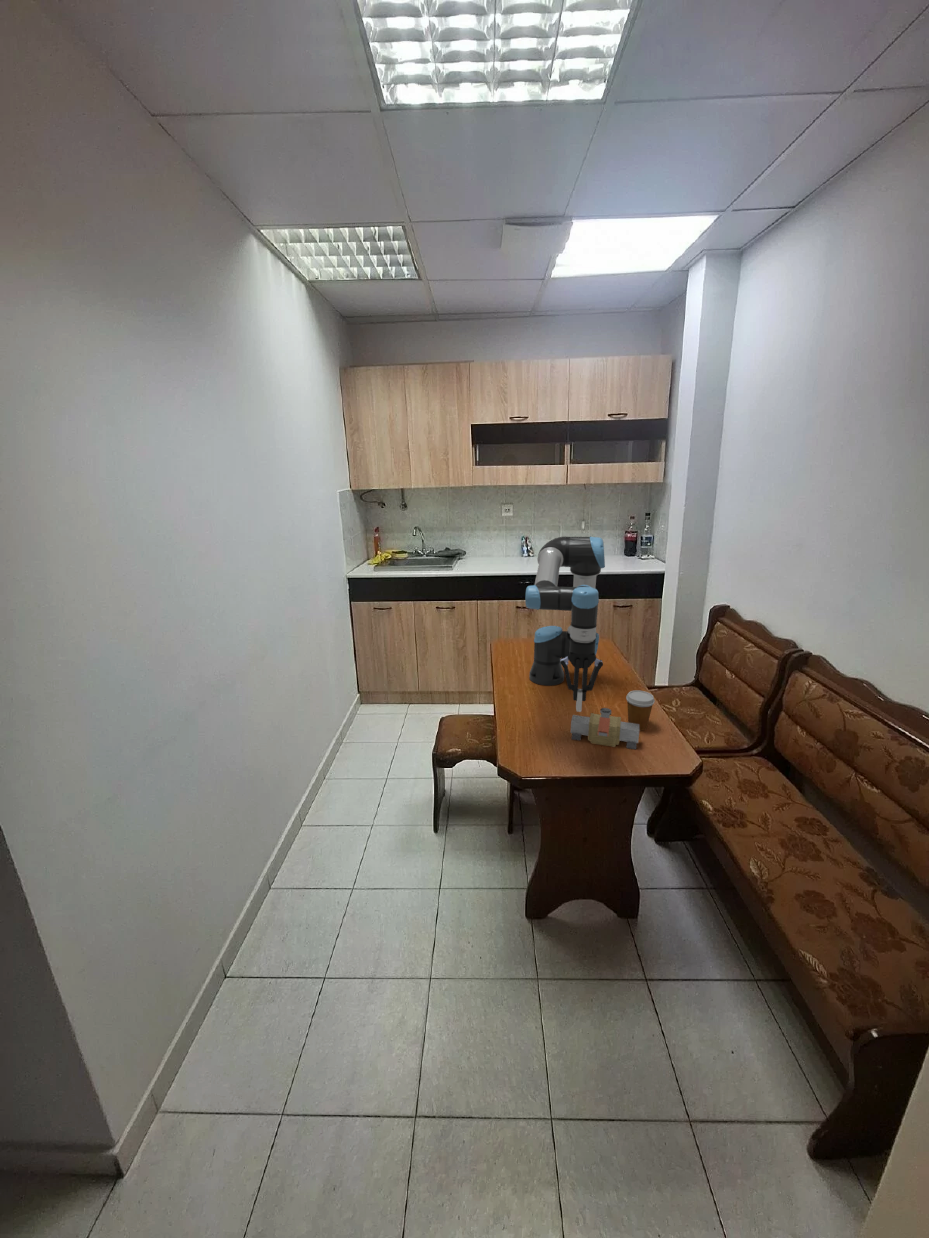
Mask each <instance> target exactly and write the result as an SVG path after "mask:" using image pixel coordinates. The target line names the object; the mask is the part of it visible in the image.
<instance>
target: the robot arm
mask: <svg viewBox="0 0 929 1238" xmlns="http://www.w3.org/2000/svg"><path fill="white" fill-rule="evenodd" d="M604 543H605V542H604V540H603V538H602V537H599V536H598V537H597V536H558V537H555V538H553V539H550V540H549V541H547V542H546V543H545V544H544V545H543V546H542V547H541V548H540V550H539V551H538V554H537V558H536V559H537V564H538V567H537V571H536V576H535V581H534V584H533V585H528V586H527V587H526V589H525V602H524V603H525V606H526V608H527V609H531V610H537V611H539V610H544V611H545V610H548V611H565V612H566V611H569V612H571V615H570V616H571V620H570V625H569V626H568V627H567V630H565V631H564V630H563V629H562V628H563V627H561V626H558V625H548V626H543V627H540V628H538V629H536V631H535V632H534V639H533V642H534V645H533V649H534V650H533V663H532V666H531V668H530V669H529V670H530V671H529V675H528V676H529V680H530V681H531V682H532V683H534V684H537V685H540V686H557V685H560V684H563V682H564V681H565V680H566V684H567V689H568V690H570V691H572V692H573V693H572V699H573V701H574V702H576V703H575V709H576V710H575V711H576V712H578V713H579V712H580V713H581V712H582V709H583V702H586V701H587V700H586V699H587V692H589V691H591V692H592V691H593V689H594V687H595V683H596V680H597V678H598V675H599V672H600V669H601V668H603V666H604V663H603V660H602V659H598V658H597V653H598V649H599V641H600V634H599V633H597V625H598V624H597V622H598V611H599V609H598V608H599V601H600V600H599V591H598V589H597V588H596V586H597V585H596V583H597V576H598V575H600V573H602V571H601V570H602V569H605V567H606V561H605V545H604ZM561 567H565V568H569V572H570V573H571V574H572V575H573V584H572V585H573V586H558V583H559V576H560V575H559V574H560V568H561ZM569 662H570V664H571V665H572V667H573V668H574V671H573V684H572V680H571V675H570V671H569V667H568V665H569ZM593 664H594V666H593V668H592V669H593V670H592V672H591V675H590V678H589V680H588V672H589V668H590V667H591V666H592V665H593ZM580 669H582V681H581V688H579V677H580V676H579V675H580Z"/></svg>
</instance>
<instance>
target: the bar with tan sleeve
mask: <svg viewBox="0 0 929 1238" xmlns="http://www.w3.org/2000/svg"><path fill="white" fill-rule="evenodd" d="M600 717H601V714H597V713H594V712H590V716H582V715H579V714H578V715H576V714H572V717H571V722H570V734H571V740H572V741H573V740H574V741H582V735H583V736H587V741H589V742H590V744H594V745H599V746H600V745H601V746H607V747H612V748H616V745H617V746H618V745H619V744H620V741H621V742H626V747H625V748H626V749H629V750H637V744H639V738H640V737H639V736H640V730H639V724H635V723H628V721H627V722H625V721H622V717H621V716H613V715H610V716H609V718H610V725H609V734H608V737H607V736H600V735H598V727H599V720H600ZM619 746H620V745H619Z"/></svg>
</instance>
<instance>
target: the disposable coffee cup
mask: <svg viewBox="0 0 929 1238" xmlns="http://www.w3.org/2000/svg"><path fill="white" fill-rule="evenodd" d="M625 698H626V702H627V720H628V721H627V722H628V723H635V724H639V731H645V730H647V728H648V724H649V721H650V718H651V717H650V716H651V713H652V708H653V705H654V704H655V702H656V701H655V698H654V695H653V694H652V693H650V692H648V691H644V690H639V689H638V690H631V691H629V692H628V693H627V695H626V697H625Z"/></svg>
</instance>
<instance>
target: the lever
mask: <svg viewBox="0 0 929 1238" xmlns="http://www.w3.org/2000/svg"><path fill="white" fill-rule="evenodd" d="M599 712H600V715H601V717H600V720H599V727H598V735H600V736H607V737H608V734H609V725H610V718H609V716H612V709H610V708H608V707H602V708H600V710H599Z"/></svg>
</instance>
